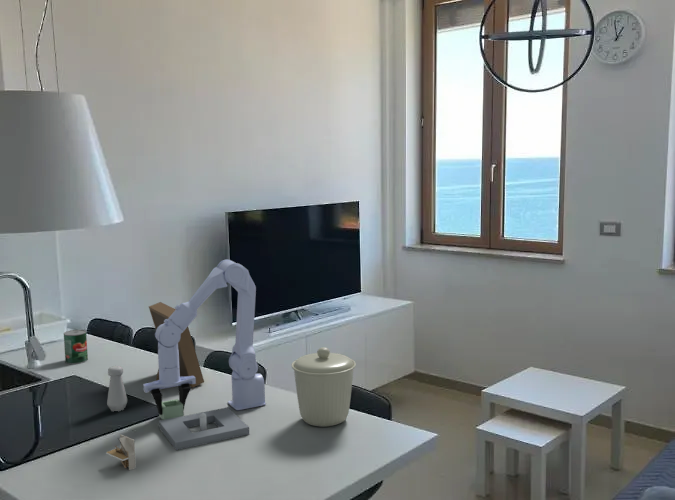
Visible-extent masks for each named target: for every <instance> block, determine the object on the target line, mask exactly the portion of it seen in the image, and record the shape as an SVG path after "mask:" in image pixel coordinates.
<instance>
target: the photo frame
mask: <svg viewBox="0 0 675 500" xmlns="http://www.w3.org/2000/svg"><path fill="white" fill-rule="evenodd" d="M148 309H149V312H150V315H151V316H150V317H151V318H152V322H153V325H154V328H155V330H156V329H157V328H158V327H159V326H160V325H161V324H163V323H165V322H164V320H165V319H169V317H170V316H171V315H172V313H173V312H174V311H175V310H176V309H175V307H172V306H170V305H167V304H165V303H163V302H161V301H160V302H157V303H154V304H152V305H149V306H148ZM178 350H179V370H180V377H185V376H194V377H195V379H196V384H189V386H190V387H191V389H193V388H195V387H197V386H199V385H202V384H204V383H205V379H204V376H203V372H202V368H201V366H200V363H199V362H200V361H199V358H198V355H197V352H196V348H195V345H194V342H193V339H192V335H191V332H190V329H189V326H188V327H187V328H186V329H185V330H183V333H181V338H180V341H179V342H178ZM156 373H157V374H156V379H155V381H157V380H159V367H158V369H157V372H156Z"/></svg>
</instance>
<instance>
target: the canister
mask: <svg viewBox="0 0 675 500" xmlns="http://www.w3.org/2000/svg"><path fill="white" fill-rule="evenodd" d="M330 351H331V350H330V349H329V348H328V347H323V346H322V347H319V348H318V349H317V352H315V353H314V352H313V353H308V354H305V355H302V356H300V357H298V358H297V359H295V360H294V361H292V362H291V369H292V370H293V373H294V382H295V388H296V396H297V403H298V409H299V414H300V417H301V418H302V420H303V421H304V422H305V423H306V424H308V425H309V426H310V425H311V426H315V427H333V426H334V427H335V426H337V425H340V424H342V423H344V422H345V421H346V420H347V417H348V416H349V412H350V405H351V398H352V389H353V378H354V377H353V376H354V369H355V368H356V365H357V363H356V361H355V360H354V359H352V358H350V357H349V356H347V355H344V354H342V353H337V352H330Z"/></svg>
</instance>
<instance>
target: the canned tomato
mask: <svg viewBox="0 0 675 500" xmlns="http://www.w3.org/2000/svg"><path fill="white" fill-rule="evenodd" d="M87 341H88V339H87V330H85V329H71V330H67V331H64V332H63V342H64V343H63V344H64V345H63V346H64V359H65V364H67V365H78V364H83V363H86V362H88V360H89V358H88V342H87Z"/></svg>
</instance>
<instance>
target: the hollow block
mask: <svg viewBox="0 0 675 500" xmlns="http://www.w3.org/2000/svg"><path fill="white" fill-rule="evenodd" d="M184 411H185V410H183V404H182V403H181V402H180V401H179V399H178V398H175V399H170V400H166V401H165V400H164V401H162V415H160V414H159V413H158V414H159V415H158V416H159V417H160V419H161V420H165V419H170V418H176V417H181V416H185V414H184Z"/></svg>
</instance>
